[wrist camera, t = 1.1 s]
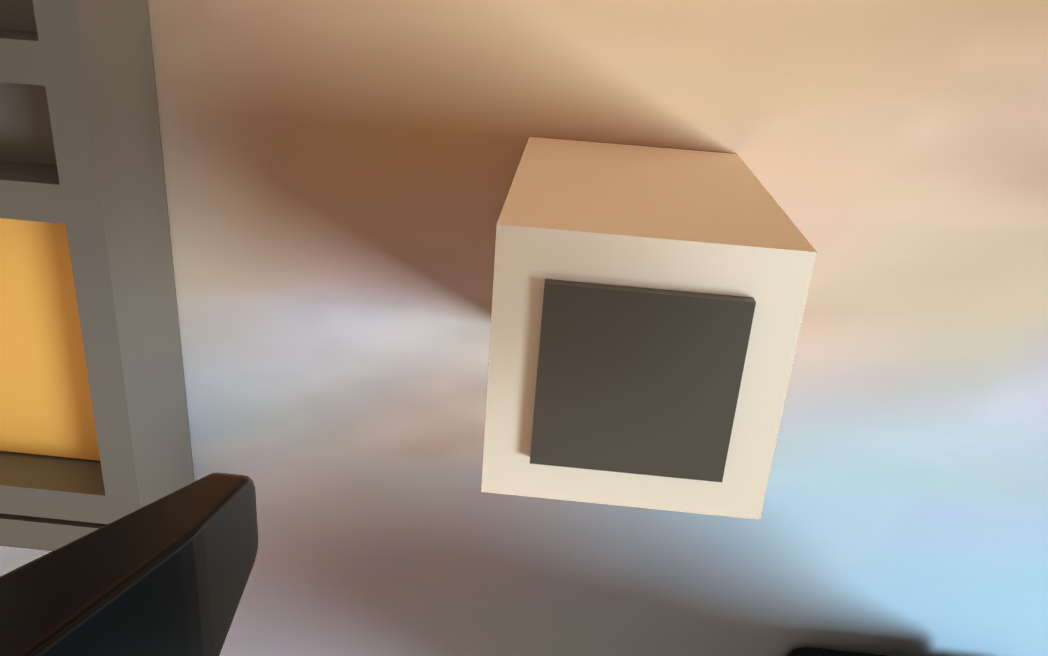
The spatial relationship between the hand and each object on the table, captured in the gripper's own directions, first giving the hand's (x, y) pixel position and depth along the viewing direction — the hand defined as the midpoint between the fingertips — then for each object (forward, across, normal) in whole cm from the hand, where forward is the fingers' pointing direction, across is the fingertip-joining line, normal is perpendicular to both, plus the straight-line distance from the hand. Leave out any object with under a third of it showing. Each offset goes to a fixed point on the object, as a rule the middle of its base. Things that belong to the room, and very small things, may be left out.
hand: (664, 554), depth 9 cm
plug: (+11, 0, 0) cm, 11 cm away
